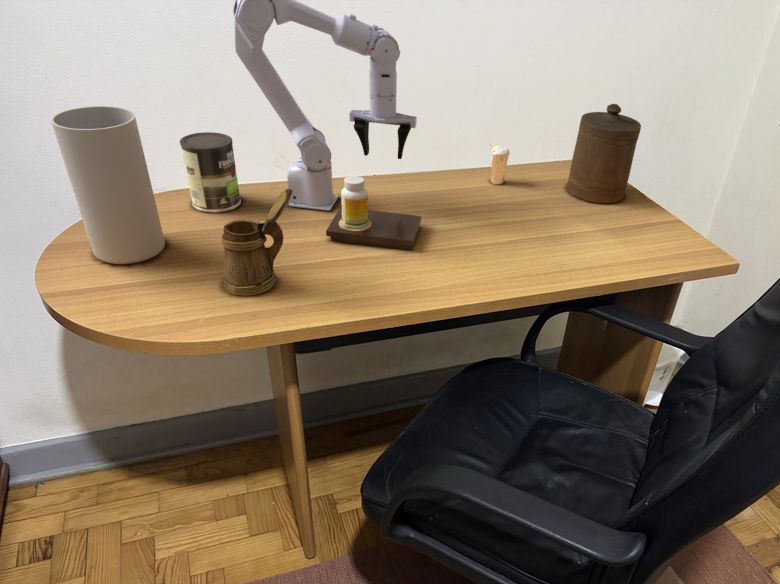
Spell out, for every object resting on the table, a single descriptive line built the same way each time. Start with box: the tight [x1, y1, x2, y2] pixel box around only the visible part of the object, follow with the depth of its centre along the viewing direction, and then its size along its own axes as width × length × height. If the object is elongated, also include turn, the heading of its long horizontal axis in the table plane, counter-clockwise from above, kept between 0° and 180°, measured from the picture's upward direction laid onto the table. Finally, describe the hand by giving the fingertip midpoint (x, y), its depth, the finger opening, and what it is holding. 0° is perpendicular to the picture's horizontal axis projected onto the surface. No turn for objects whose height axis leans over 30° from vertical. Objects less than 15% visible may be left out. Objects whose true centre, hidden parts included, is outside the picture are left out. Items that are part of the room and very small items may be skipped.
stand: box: [325, 206, 423, 251], centre depth 133 cm, size 18×12×3 cm, turn 85°
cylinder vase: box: [50, 105, 166, 265], centre depth 112 cm, size 12×12×25 cm
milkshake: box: [489, 144, 510, 185], centre depth 159 cm, size 5×5×10 cm
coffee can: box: [179, 131, 242, 213], centre depth 135 cm, size 10×10×14 cm
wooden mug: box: [221, 188, 293, 297], centre depth 109 cm, size 9×14×18 cm, turn 103°
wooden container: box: [566, 103, 642, 204], centre depth 155 cm, size 15×15×22 cm
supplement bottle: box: [340, 175, 369, 228], centre depth 128 cm, size 5×5×10 cm
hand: (383, 155), depth 142 cm, fingers open, 7 cm apart
